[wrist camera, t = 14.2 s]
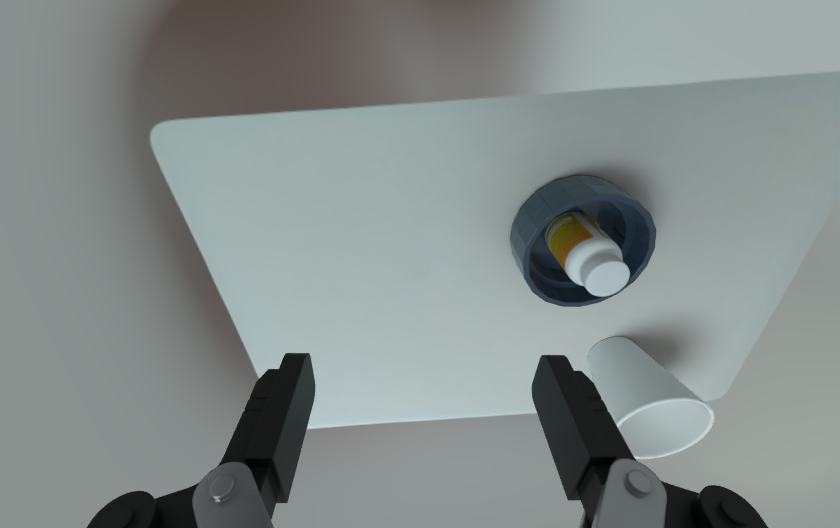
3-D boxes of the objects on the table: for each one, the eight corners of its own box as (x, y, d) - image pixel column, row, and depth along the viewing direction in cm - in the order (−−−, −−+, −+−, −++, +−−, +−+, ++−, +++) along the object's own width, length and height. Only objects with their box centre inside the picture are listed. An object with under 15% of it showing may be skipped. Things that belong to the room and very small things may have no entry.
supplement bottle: (539, 252, 42) (571, 303, 34) (549, 209, 39) (586, 254, 31) (584, 252, 42) (627, 303, 34) (597, 210, 39) (647, 254, 31)
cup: (553, 361, 53) (589, 440, 42) (618, 309, 48) (677, 385, 38) (604, 390, 57) (648, 469, 46) (669, 345, 52) (735, 422, 41)
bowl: (520, 171, 38) (538, 192, 32) (642, 175, 38) (678, 196, 33) (500, 275, 45) (512, 306, 39) (603, 277, 45) (628, 307, 40)
